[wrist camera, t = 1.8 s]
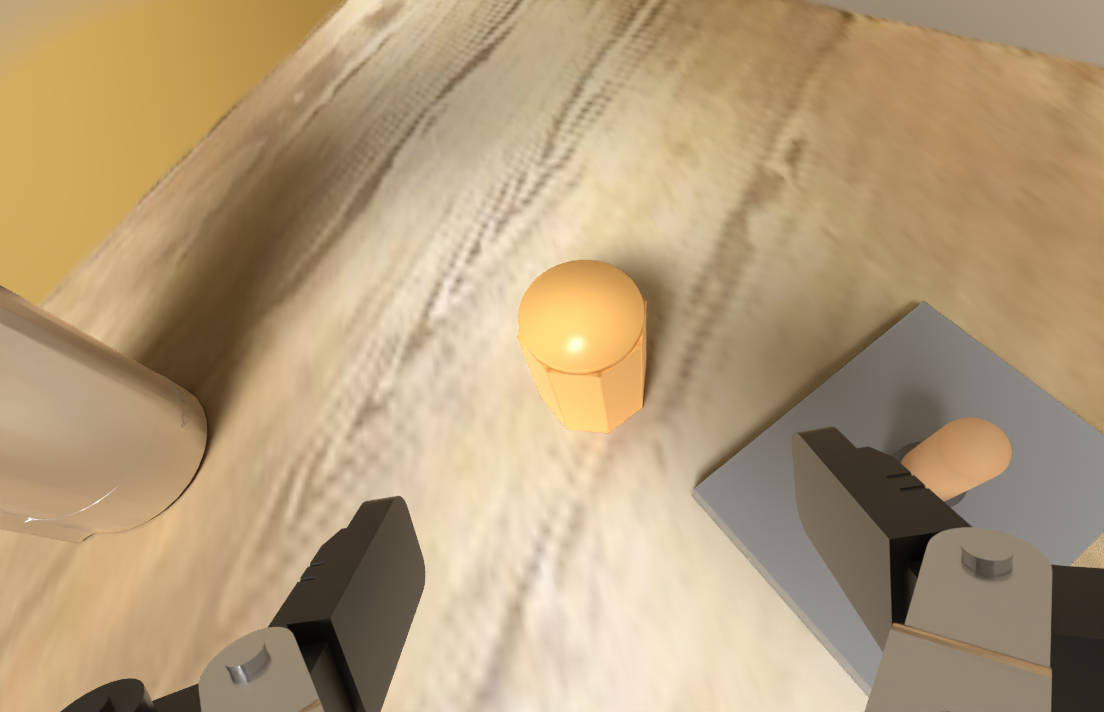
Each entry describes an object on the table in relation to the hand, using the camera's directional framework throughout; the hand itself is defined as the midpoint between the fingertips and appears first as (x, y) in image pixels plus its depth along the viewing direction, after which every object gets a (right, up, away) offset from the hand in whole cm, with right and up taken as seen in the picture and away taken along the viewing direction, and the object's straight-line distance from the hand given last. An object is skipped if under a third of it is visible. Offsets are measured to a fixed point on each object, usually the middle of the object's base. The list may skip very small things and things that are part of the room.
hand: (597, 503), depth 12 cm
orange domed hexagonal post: (+1, +1, +21) cm, 21 cm away
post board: (+16, -3, +16) cm, 23 cm away
